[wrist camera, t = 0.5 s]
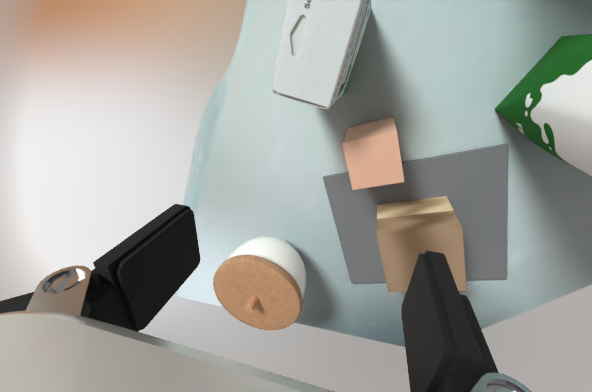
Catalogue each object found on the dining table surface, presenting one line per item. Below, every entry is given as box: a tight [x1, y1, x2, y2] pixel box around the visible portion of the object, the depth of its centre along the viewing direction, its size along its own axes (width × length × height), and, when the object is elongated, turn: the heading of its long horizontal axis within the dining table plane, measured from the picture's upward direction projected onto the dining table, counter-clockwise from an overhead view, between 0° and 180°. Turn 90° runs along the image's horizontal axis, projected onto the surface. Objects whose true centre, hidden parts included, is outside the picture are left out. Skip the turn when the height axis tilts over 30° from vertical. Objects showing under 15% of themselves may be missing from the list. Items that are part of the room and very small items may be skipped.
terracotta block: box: [342, 117, 404, 190], centre depth 29 cm, size 5×5×7 cm
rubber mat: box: [323, 144, 508, 283], centre depth 35 cm, size 20×18×1 cm
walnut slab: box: [377, 210, 467, 292], centre depth 30 cm, size 8×8×4 cm
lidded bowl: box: [213, 236, 306, 330], centre depth 39 cm, size 13×13×11 cm
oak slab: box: [377, 196, 453, 219], centre depth 33 cm, size 8×8×4 cm
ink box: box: [272, 0, 371, 109], centre depth 23 cm, size 9×5×12 cm, turn 165°
